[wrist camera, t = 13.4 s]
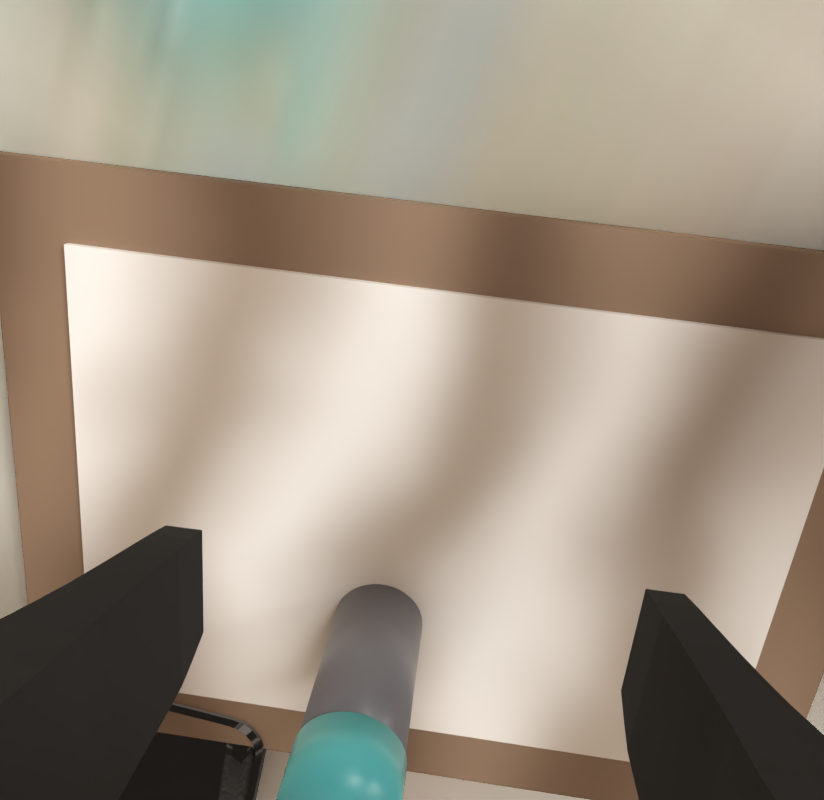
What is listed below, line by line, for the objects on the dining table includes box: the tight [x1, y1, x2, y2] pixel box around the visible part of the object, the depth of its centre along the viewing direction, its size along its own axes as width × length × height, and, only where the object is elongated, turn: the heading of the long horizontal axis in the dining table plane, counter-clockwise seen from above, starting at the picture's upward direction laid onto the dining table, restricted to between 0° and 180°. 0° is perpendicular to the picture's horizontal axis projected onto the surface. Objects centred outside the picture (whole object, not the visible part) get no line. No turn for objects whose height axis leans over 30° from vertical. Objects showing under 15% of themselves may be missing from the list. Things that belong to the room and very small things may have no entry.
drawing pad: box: [0, 151, 824, 800], centre depth 22 cm, size 24×18×1 cm
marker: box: [276, 584, 422, 800], centre depth 20 cm, size 3×3×7 cm
